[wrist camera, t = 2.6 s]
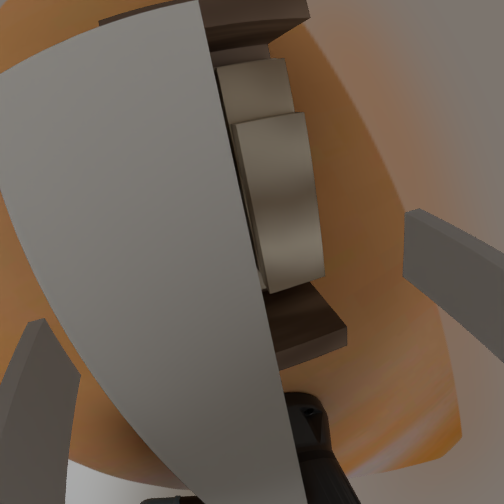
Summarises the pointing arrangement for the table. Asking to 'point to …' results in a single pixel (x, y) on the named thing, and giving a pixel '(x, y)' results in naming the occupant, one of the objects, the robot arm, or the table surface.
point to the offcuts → (272, 171)
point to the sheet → (151, 247)
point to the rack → (252, 49)
